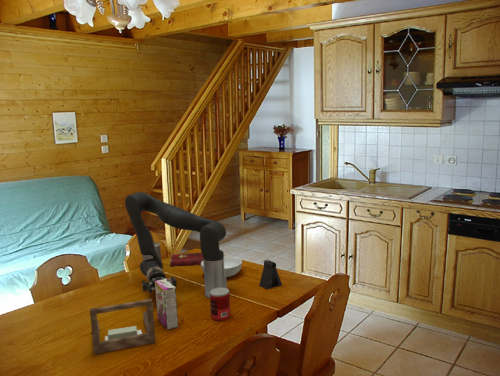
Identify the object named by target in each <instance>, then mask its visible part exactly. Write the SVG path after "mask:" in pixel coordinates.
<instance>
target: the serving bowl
mask: <svg viewBox="0 0 500 376" xmlns="http://www.w3.org/2000/svg"><path fill="white" fill-rule="evenodd" d="M242 265H243V260H242V259H241V258H238V257H235V256H228V255H224V270H225V275H226V278H230V277H232V276H235V275H236V274H237V273H238V272H240V271H241V269H242ZM200 267H201V270H202V272H204V261H202V262H201V265H200Z"/></svg>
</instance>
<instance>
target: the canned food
mask: <svg viewBox="0 0 500 376" xmlns="http://www.w3.org/2000/svg"><path fill="white" fill-rule="evenodd" d="M230 296H231V295H230V289H229V288H228V287H227V288H215V289H212V290H211V291H210V298H209V300H210V301H209V303H210V305H209V306H210V317H211V319H212V320H213V321H216V322H222V321H226V320H228V319H230V316H231V301H230V299H231V298H230Z"/></svg>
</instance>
